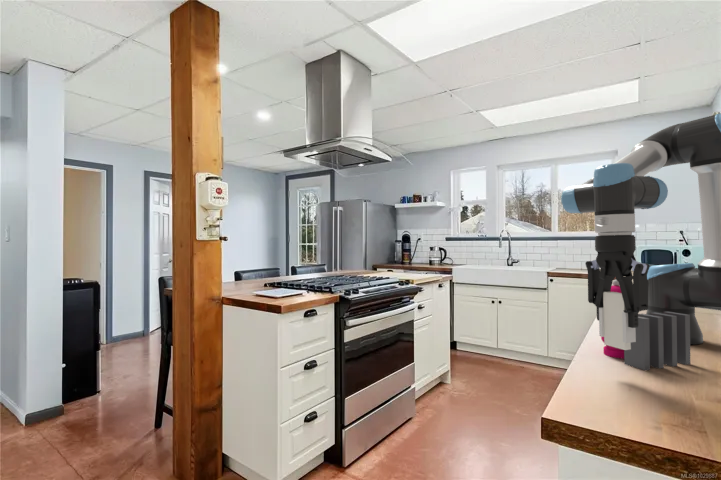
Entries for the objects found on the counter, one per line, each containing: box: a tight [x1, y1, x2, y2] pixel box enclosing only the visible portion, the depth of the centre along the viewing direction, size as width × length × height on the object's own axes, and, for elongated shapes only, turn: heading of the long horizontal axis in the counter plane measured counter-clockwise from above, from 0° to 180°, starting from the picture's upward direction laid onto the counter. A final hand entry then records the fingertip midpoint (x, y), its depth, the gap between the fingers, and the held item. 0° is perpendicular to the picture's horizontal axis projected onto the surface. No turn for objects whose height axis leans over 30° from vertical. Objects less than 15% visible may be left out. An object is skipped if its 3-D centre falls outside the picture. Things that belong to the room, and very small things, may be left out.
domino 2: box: [638, 313, 665, 369], centre depth 93 cm, size 2×5×12 cm, turn 17°
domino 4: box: [664, 312, 691, 366], centre depth 96 cm, size 2×5×12 cm, turn 17°
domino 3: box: [651, 313, 678, 367], centre depth 95 cm, size 2×5×12 cm, turn 17°
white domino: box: [603, 291, 631, 350], centre depth 85 cm, size 2×5×12 cm, turn 17°
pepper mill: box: [600, 279, 624, 359], centre depth 101 cm, size 7×7×20 cm
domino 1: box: [624, 316, 651, 371], centre depth 92 cm, size 2×5×12 cm, turn 17°
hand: (617, 338), depth 85 cm, fingers closed on white domino, 5 cm apart
